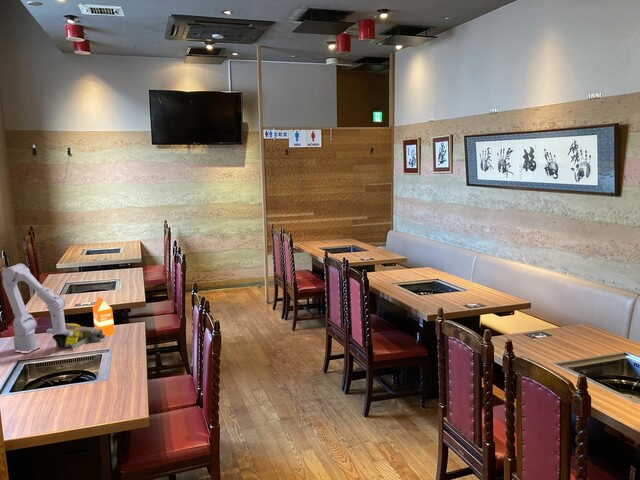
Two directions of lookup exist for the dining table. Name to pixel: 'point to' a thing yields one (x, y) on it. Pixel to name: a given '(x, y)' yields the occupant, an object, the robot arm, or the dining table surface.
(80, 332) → the grey plush toy
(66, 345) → the supplement box
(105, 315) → the orange juice
